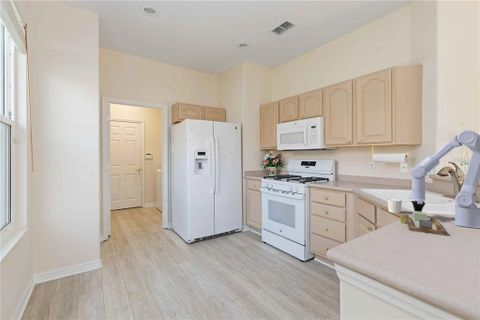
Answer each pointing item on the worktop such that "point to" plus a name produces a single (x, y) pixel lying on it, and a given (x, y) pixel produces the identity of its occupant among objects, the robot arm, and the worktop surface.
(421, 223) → the block
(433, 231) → the twin wooden rails
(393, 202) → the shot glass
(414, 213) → the block
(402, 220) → the tan textured block
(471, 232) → the worktop surface
